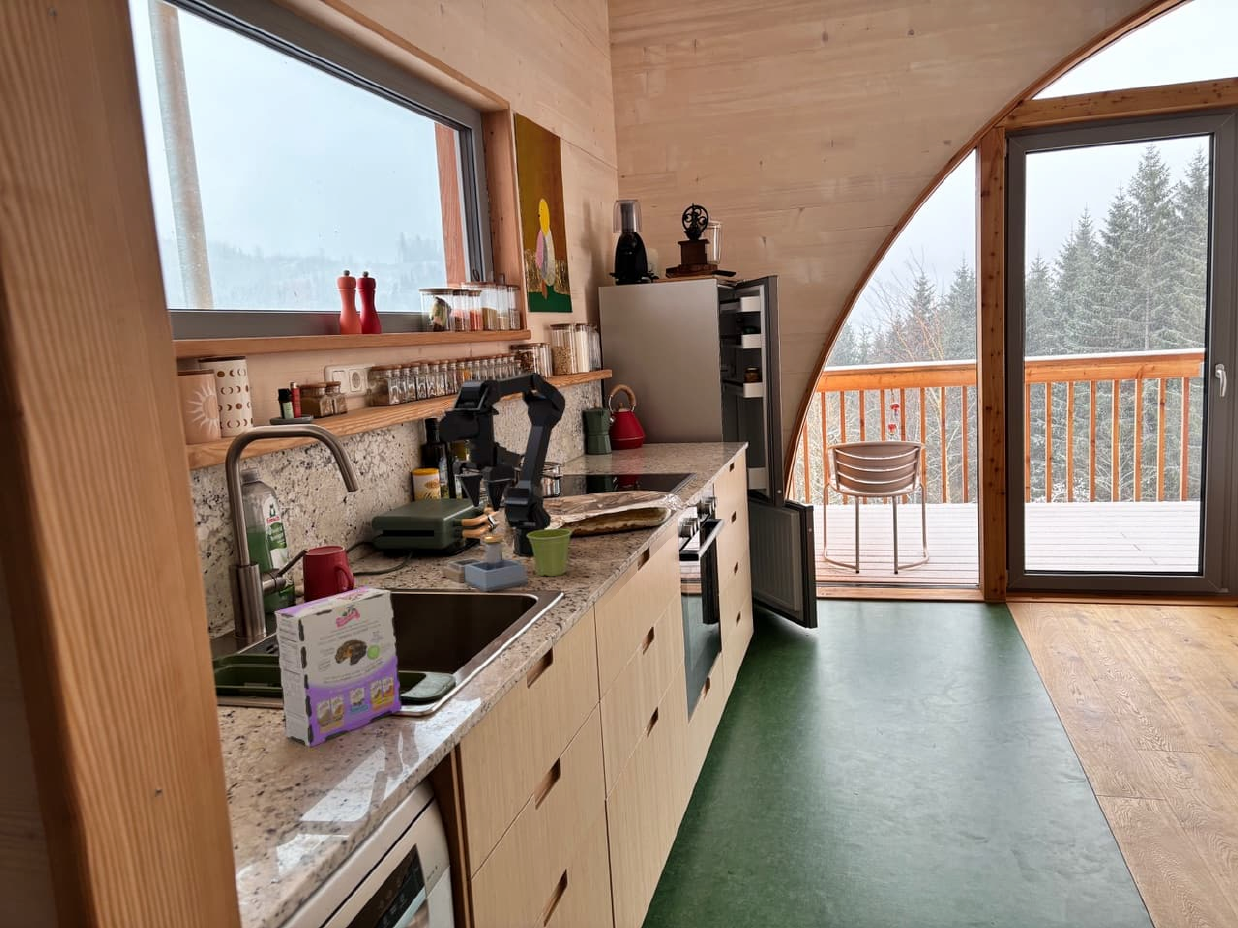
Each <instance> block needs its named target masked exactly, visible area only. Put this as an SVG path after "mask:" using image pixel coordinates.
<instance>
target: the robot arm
mask: <svg viewBox="0 0 1238 928" xmlns="http://www.w3.org/2000/svg"><path fill="white" fill-rule="evenodd" d="M533 391H535V392H533ZM517 394H522V395H521V397H522V398H521V399H522V401H523V403H525V405H526V406H527V416H528V418H529V419H528V420H529V421H530V430H529V435H528V438H527V444H526V447H525V452H524V456H523V461H522V465H521V470H520V474H519V479H518V482H517V483H516V485H515V486H514V487H513V486H509V487H508V488H507V490H506V498H505V500H504V502H503V504H504V505H505V506H504V513H505V517H506V521H507V523H508V526H509V528H514V535H513V545H514V546H513V547H514V548H513V549H514V550H512V553H513V554H516V555H520V556H522V557H532V556H534V554H533V549H532V545H531V544H530V540H529V538H528V537H527V534H528V533H530V532H534V531H538V530H545V529H548V527H550V526H551V521H552V517H551V515H550V513H548V512H547V510H546V509H545V507H544V496H543V494H542V491H541V488H540V487H541V482H542V478H543V472H544V468H545V464H546V460H547V454H548V450H549V445H550V441H551V436H552V432H553V429H554V428H555V427H556V425H558V424H559V423H560V421H561V420H562V416H563V414H564V411H565V408H566V399H565V396H563V394H562V393H561V392H560V390H559V389H558V388H557V387H556V386H555V385H553V384H552V383H550V382H548V381H547V380H545V379H544V378H543V377H542V375H541V374H539V373H537V372H522V373H519V374H518V375H513V376H507V377H503V378H502V377H501V378H499V379H498V378H497V379H490V378H489V379H465V380H464V381H462V382H461V387H460V389H459V391H458V393H457V395H456V399H455V401H454V403H453V406H452V408H451V409H445V410H444V416H443V417H442V418H441V419H440V421H439V425H438V427H437V429H438V435H439V437H440V438H441V439H442V441H444V442H446V443H450V444H451V443H458V442H464V441H467V442H465V443H464V448H465V449H468V459H467V460H465V459H464V460H459V461H455V462H454V463H453V465H452V474H453V475H455V477H456V479H457V480H458V482H459V483H460V485H461V486H462V488H463V491H465V494H466V495H467V497H468V499H469V501H470V502H471V504H472V506H473V508H478V507H479V506H480V500H481V499H480V497H481V482H482V485H483V487H484V489H485V492H486V495H487V498H488V501H489V504H490V506H491V509H492V511H493V512H494V513H497V512H499V511H500V507H501V503H502V499H503V494H504V491H505V489H506V487H507V486H508V484H510V483H512V482H513V480H514V479H515V478H517V470H516V469H518V467H519V464H520V461H521V457H522V454H520V453H519V452H515V451H510V450H508V449H507V447H506V446H505V447H504V446H501V443H500V442H499V441H496V440H495V439H496V437H495V422H494V416H499V415H500V411H499V410H498V409H497V408H495V407H494V405H496V404H497V403H499V402H501V399H502V398H504V397H509V396H512V395H517Z"/></svg>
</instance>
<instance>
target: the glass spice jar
mask: <svg viewBox="0 0 1238 928" xmlns="http://www.w3.org/2000/svg"><path fill="white" fill-rule="evenodd" d="M483 542H484V544H485V556H486V557H485V559H486V560H485V561H487V571H489V570H494V569H499V568H503V561H502V558H503V549H502V545H503V535H501V534H489V535H485V536H483Z"/></svg>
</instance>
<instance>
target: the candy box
mask: <svg viewBox="0 0 1238 928" xmlns="http://www.w3.org/2000/svg"><path fill="white" fill-rule="evenodd" d="M393 606H394V605H393V596H392V590H388V589H384V588H377V587H373V586H368V585H366V586H362V587H358V588H355V589H353V590H348V591H345V592H342V593H337V594H335V595H334V594H333V595H330V596H327V597H323V598H319V599H316V600H312V601H309V602H305V603H302V604H297V605H294V606H290V607H286V608H283V609H282V608H281V609H279V610H275V611H274V622H275V633H276V642H277V652H278V655H277V656H278V663H279V664H278V665H279V675H280V685H281V693H282V704H283V705H282V706H283V716H284V717H283V718H284V726H285V727H284V728H285V736H286V737H288V738H289V739H291V740H293V741H295V742H298V743H300V744H302V745H304V746H306V747H309V748H310V747H315V746H317V745H320V744H322V743H325V742H327V741H329V740H331V739H334V738H336V737H339V736H341V735H344V734H346V733H348V732H350V731H353V730H355V729H358V728H361V727H363V726H365V725H367V724H370V723H372V722H375V721H377V720H379V719H382V718H384V717H387V716H389V715H392V714H394V713H396V712H399V711H400V710H402V708H403V704H402V694H401V693H402V692H401V684H400V683H401V682H400V672H399V663H398V651H397V650H398V649H397V644H396V643H397V640H396V630H395V629H396V628H395V619H394V617H395V616H394V609H393V608H394V607H393Z"/></svg>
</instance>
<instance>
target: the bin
mask: <svg viewBox="0 0 1238 928" xmlns="http://www.w3.org/2000/svg"><path fill="white" fill-rule="evenodd" d="M482 561H483V562H478V563H472V564H467V565H465V576H466V582H465V584H466V585H468V586H469V587H473V588H475V589H478V590H481V591H482V590H483V591H482V592H485V591H490V592H493V590H494V591H498V590H499V591H500V590H502V589H503V590H504V589H508V588H513V587H517V586H518V587H519V586H522V585H526V584H527V574H526V573H527V571H526V563H525V564H524V563H522V562H520V561H515V560H512V559H509V558H507V557H502V561H503V568H499V569H494V570H489V571H487V561H486V560H482Z"/></svg>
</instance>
